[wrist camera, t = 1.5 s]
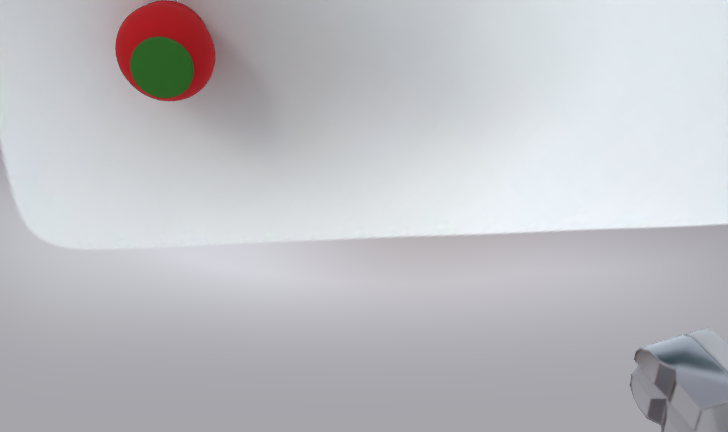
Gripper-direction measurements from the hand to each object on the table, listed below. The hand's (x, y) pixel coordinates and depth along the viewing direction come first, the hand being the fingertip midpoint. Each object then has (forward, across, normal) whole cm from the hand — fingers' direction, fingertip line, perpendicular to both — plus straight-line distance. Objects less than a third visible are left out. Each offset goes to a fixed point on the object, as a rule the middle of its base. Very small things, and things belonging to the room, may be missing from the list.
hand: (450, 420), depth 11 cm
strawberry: (+23, +6, -3) cm, 24 cm away
